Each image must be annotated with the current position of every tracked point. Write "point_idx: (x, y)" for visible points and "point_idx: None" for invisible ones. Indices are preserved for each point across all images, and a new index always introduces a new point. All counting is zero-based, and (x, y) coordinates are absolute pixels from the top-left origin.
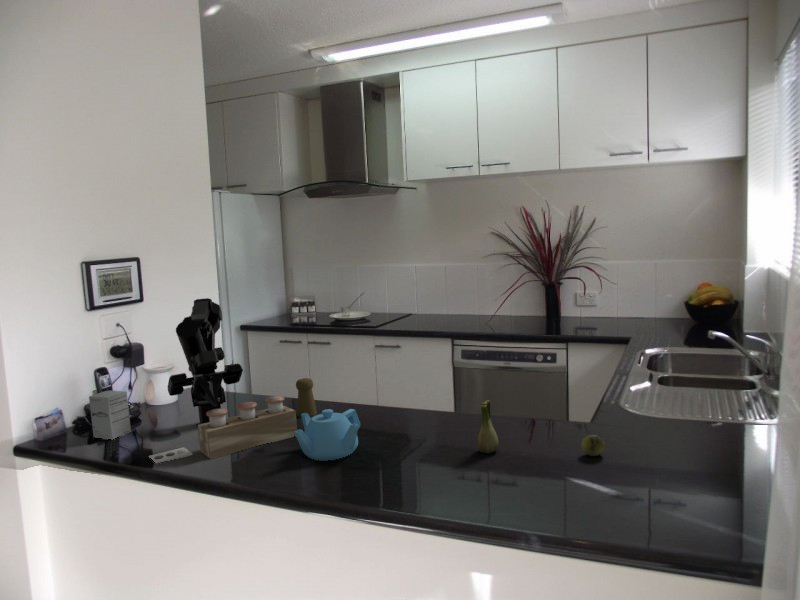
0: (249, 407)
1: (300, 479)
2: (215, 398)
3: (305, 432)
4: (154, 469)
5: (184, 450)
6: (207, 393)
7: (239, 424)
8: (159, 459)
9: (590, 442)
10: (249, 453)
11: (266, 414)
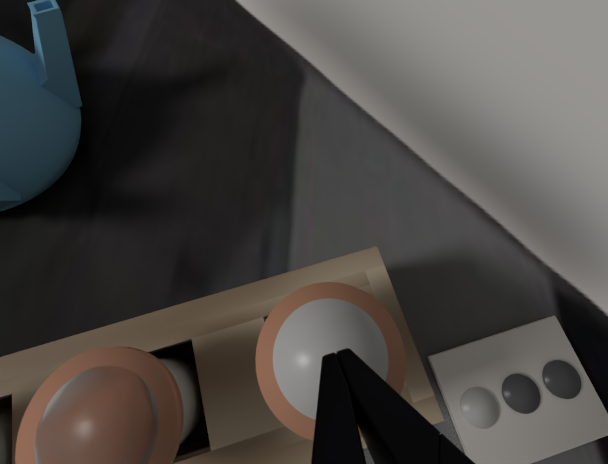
0: (101, 349)
1: (154, 22)
2: (339, 391)
3: (14, 89)
4: (542, 267)
5: (468, 412)
6: (441, 436)
7: (217, 293)
8: (552, 353)
9: None
10: (226, 262)
11: None
